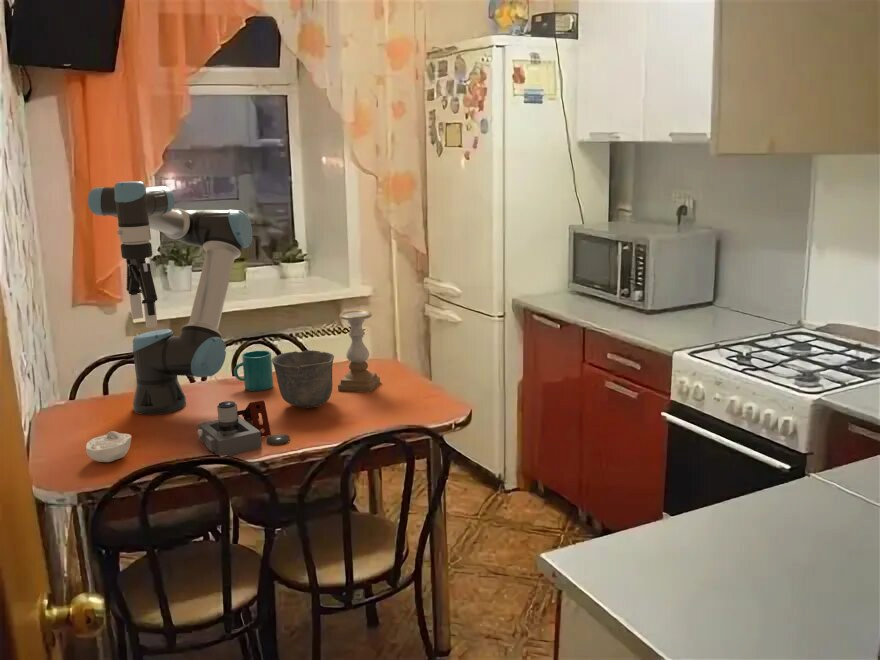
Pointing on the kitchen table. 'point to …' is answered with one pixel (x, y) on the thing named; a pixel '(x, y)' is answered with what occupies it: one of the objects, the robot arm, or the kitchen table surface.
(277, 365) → the bowl
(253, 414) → the bracket
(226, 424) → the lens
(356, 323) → the candle holder
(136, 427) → the kitchen table surface
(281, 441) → the lens cap
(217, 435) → the grey square tray
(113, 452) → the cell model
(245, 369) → the cup
